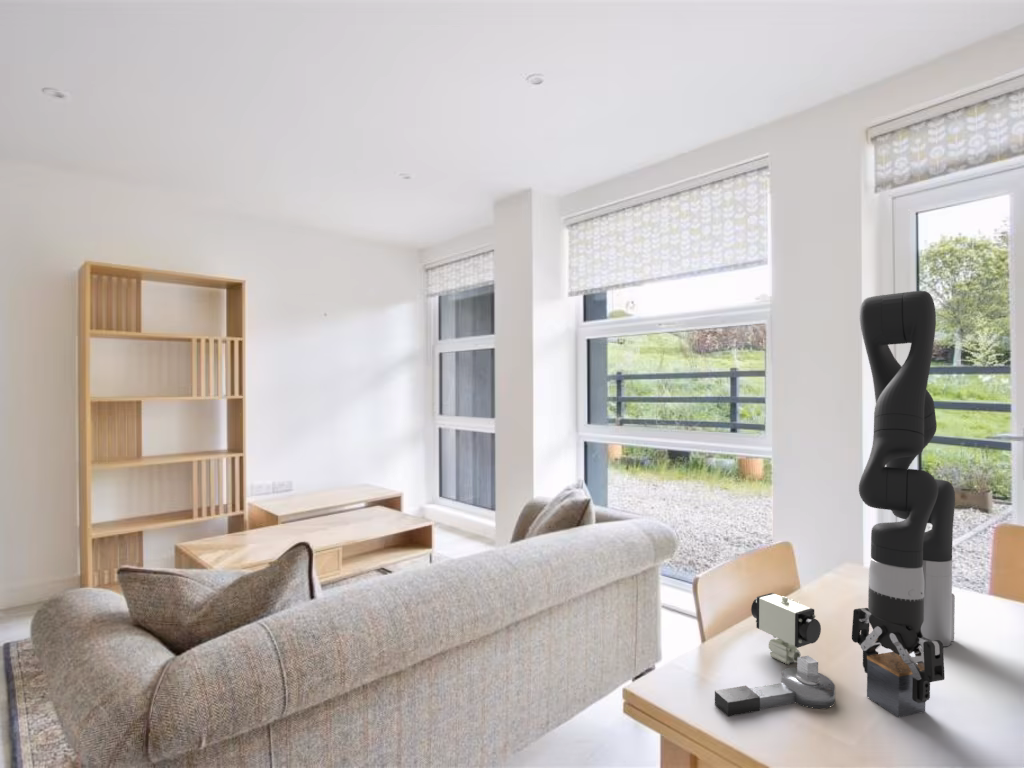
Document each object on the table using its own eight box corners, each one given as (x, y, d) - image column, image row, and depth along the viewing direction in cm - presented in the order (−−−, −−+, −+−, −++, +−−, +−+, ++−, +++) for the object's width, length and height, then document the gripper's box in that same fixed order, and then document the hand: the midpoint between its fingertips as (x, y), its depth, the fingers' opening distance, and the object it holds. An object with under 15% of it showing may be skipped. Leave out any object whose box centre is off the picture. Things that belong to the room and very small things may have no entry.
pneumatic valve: (804, 677, 98) (805, 611, 98) (750, 648, 108) (750, 588, 108) (824, 669, 100) (824, 605, 100) (768, 642, 111) (769, 583, 111)
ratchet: (808, 678, 97) (808, 645, 97) (846, 704, 90) (846, 668, 90) (706, 696, 92) (706, 660, 92) (737, 725, 84) (738, 686, 84)
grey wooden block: (892, 692, 93) (893, 651, 93) (925, 711, 88) (926, 668, 88) (866, 697, 92) (866, 655, 92) (898, 717, 86) (898, 673, 86)
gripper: (958, 603, 84) (956, 708, 84) (874, 572, 97) (873, 662, 98) (920, 608, 82) (919, 715, 82) (840, 575, 96) (839, 667, 96)
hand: (894, 686), depth 90 cm, fingers open, 8 cm apart
